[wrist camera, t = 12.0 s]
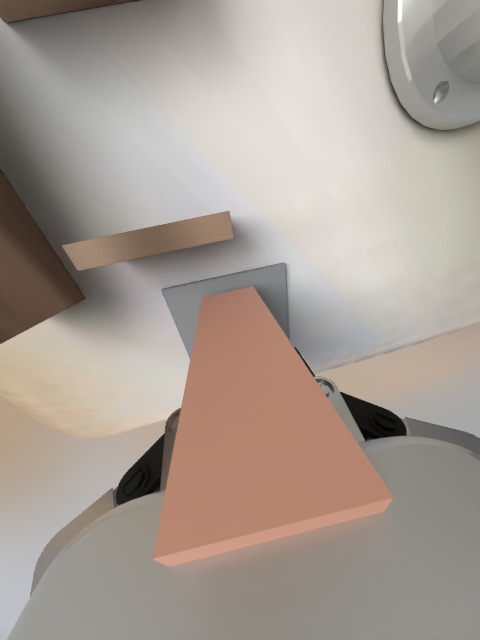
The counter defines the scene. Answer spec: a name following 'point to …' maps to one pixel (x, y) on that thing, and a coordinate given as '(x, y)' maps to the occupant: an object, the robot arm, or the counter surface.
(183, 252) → the counter surface
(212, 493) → the salmon pink block
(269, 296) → the grey mat
